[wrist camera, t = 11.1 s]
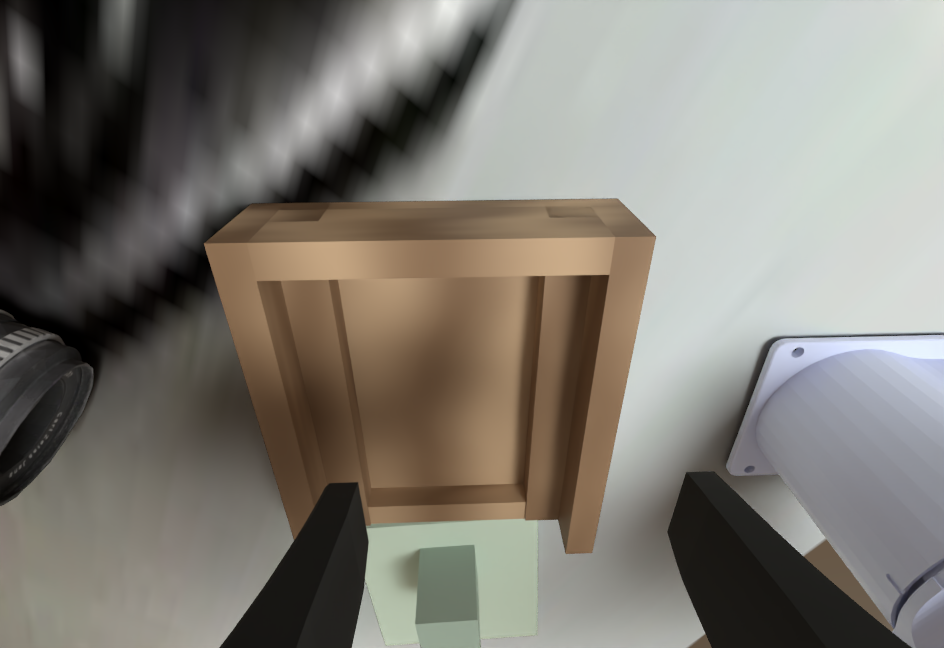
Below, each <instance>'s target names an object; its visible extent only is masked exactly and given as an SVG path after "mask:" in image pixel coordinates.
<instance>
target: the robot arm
mask: <svg viewBox="0 0 944 648" xmlns="http://www.w3.org/2000/svg"><path fill="white" fill-rule="evenodd" d="M796 348H797V350H795V351H794V352H793V350H794V349H796ZM726 468H727V470H728V471H729V473H730V474H731V475H734V476H750V475H779V476H780V477H781V478H782V480H783V481H784V482H785V484H786V485H787V486H788V488H789V489H790V490H791V492H792V493H793V494H794V496H795V497H796V498H797V500H798V501H799V502H800V504H801V505H802V506H803V508H804V509H805V510H806V512H807V513H808V515H809V516H810V517H811V519H812V520H813V521H814V523H815V524H816V525H817V527H818V528H819V529H820V531H821V532H822V533H823V535H824V536H825V537H826V539H827V540H828V541H829V543H830V544H831V545H832V547H833V548H834V549H835V551H836V552H837V553H838V555H839V556H840V558H841V559H842V560H843V561H844V563H845V564H846V566H847V567H848V568H849V570H850V571H851V572H852V574H853V575H854V576H855V578H856V579H857V580H858V582H859V583H860V584H861V586H862V587H863V588H864V590H865V591H866V592H867V593H868V595H869V596H870V598H871V599H872V601H873V602H874V603H875V605H876V606H877V607H878V609H879V610H880V611H881V612H882V614H883V615H884V617H885V618H886V619H887V621H888V622H889V623H890V625H891V626H892V627H893V629H894V630H893V631H892V632H891V631H890V630H888V629H887V628H886V627H885V626H884V625H882V624H881V623H880V622H879V621H877V620H876V619H875V618H874V617H873V616H871V615H870V614H869V613H868V612H867V611H865V610H864V609H863V608H862V607H861V606H859V605H858V604H857V603H856V602H854V600H852V599H851V598H850V597H849V596H848V595H846V594H845V593H844V592H843V591H842V590H841V589H839V588H838V587H837V586H836V585H835V584H834V583H832V582H831V581H830V580H829V579H828V578H827V577H826V576H824V575H823V574H822V573H821V572H820V571H819V570H817V568H815V567H814V566H813V565H812V564H811V563H810V562H808V560H807V559H805V558H804V557H803V556H802V555H801V554H800V553H799V552H798V551H797V550H796V549H795V548H793V547H792V546H791V545H790V544H789V543H788V542H787V541H786V540H785V539H784V538H783V537H782V536H781V535H780V534H778V533H777V532H776V531H775V530H774V529H773V528H772V527H771V526H770V525H769V524H768V523H767V522H766V521H765V520H764V519H763V518H762V517H761V516H760V515H759V514H757V513H756V512H755V511H754V510H753V509H752V508H751V507H750V506H749V505H748V504H747V503H746V502H745V501H744V500H743V499H742V498H741V497H740V496H739V495H738V494H737V493H736V492H735V491H734V490H733V489H732V488H731V487H730V486H729V485H727V484H726V483H725V482H724V481H723V480H722V479H721V478H720V477H719V476H718V475H717V474H716V473H715V472H686V475H685V478H684V482H683V485H682V488H681V491H680V494H679V497H678V500H677V503H676V507H675V510H674V513H673V516H672V519H671V522H670V525H669V528H668V536H669V539H670V542H671V546H672V549H673V552H674V556H675V559H676V562H677V565H678V568H679V571H680V574H681V577H682V580H683V583H684V585H685V587H686V590H687V592H688V594H689V597H690V599H691V601H692V604H693V606H694V608H695V610H696V613H697V615H698V617H699V620H700V622H701V624H702V626H703V629H704V631H705V633H706V635H707V638H708V640H709V642H710V644H711V647H712V648H944V335H920V336H875V337H829V338H785V339H780V340H778V341H776V342H775V343H774V344H773V345H772V346H771V348H770V350H769V352H768V355H767V358H766V360H765V363H764V366H763V368H762V371H761V374H760V376H759V379H758V382H757V384H756V387H755V390H754V392H753V395H752V398H751V400H750V403H749V406H748V408H747V411H746V414H745V416H744V419H743V422H742V424H741V427H740V430H739V432H738V435H737V438H736V440H735V443H734V446H733V448H732V451H731V453H730V456H729V459H728V461H727V464H726ZM368 544H369V540H368V535H367V529H366V524H365V518H364V512H363V507H362V501H361V496H360V490H359V485H358V482H348V483H329V484H328V485H327V486H326V487H325V488H324V490H323V492H322V494H321V496H320V498H319V500H318V501H317V503H316V505H315V507H314V508H313V510H312V512H311V514H310V515H309V517H308V519H307V520H306V522H305V524H304V526H303V527H302V529H301V530H300V532H299V534H298V535H297V537H296V539H295V540H294V542H293V543H292V545H291V547H290V548H289V550H288V551H287V553H286V554H285V556H284V557H283V559H282V560H281V562H280V563H279V565H278V567H277V568H276V570H275V571H274V573H273V574H272V576H271V577H270V579H269V580H268V582H267V583H266V585H265V586H264V588H263V589H262V590H261V592H260V593H259V595H258V596H257V597H256V599H255V600H254V602H253V603H252V604H251V606H250V607H249V608H248V610H247V611H246V613H245V614H244V615H243V617H242V618H241V620H240V621H239V622H238V624H237V625H236V627H235V628H234V629H233V631H232V632H231V633H230V635H229V636H228V637H227V639H226V640H225V641H224V642H223V644H222V645H221V646H220V648H352V643H353V638H354V634H355V629H356V624H357V619H358V615H359V610H360V605H361V600H362V595H363V590H364V581H365V573H366V564H367V554H368Z"/></svg>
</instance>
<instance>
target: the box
mask: <svg viewBox="0 0 944 648" xmlns="http://www.w3.org/2000/svg"><path fill="white" fill-rule="evenodd" d="M655 240H656V236H655V235H654V234H653V233H652V232H651V231H650V230H649V229H648V228H647V227H646V226H645V225H644V224H643V223H642V222H641V221H640V220H639V219H638V218H637V217H636V216H635V215H634V214H633V213H632V212H631V211H630V210H629V209H628V208H627V207H626V206H625V205H624V204H623V203H622V202H621V201H620V200H619V199H562V200H487V201H413V202H338V203H263V204H250V205H249V206H248V207H247V208H246V209H245V210H243V211H242V212H241V213H240V214H239V215H237V216H236V217H235V218H234V219H233V220H231V221H230V222H229V223H228V224H227V225H225V226H224V227H223V228H222V229H221V230H219V231H218V232H217V233H216V234H215V235H214V236H212V237H211V238H210V239H209V240H208V241H206V242H205V243H204V246H205V249H206V252H207V256H208V259H209V262H210V265H211V269H212V272H213V275H214V279H215V282H216V285H217V288H218V292H219V295H220V298H221V301H222V305H223V308H224V311H225V315H226V318H227V321H228V324H229V328H230V331H231V334H232V338H233V341H234V344H235V347H236V351H237V354H238V357H239V361H240V364H241V367H242V370H243V374H244V377H245V380H246V384H247V387H248V390H249V393H250V397H251V400H252V403H253V407H254V410H255V413H256V416H257V420H258V423H259V426H260V430H261V433H262V436H263V439H264V443H265V446H266V449H267V452H268V456H269V459H270V462H271V466H272V469H273V472H274V475H275V479H276V482H277V485H278V489H279V492H280V495H281V498H282V502H283V505H284V508H285V512H286V515H287V518H288V521H289V525H290V528H291V531H292V535H293V538H294V540H295V539H296V537H297V535H298V534H299V532H300V530H301V529H302V527H303V526H304V524H305V522H306V520H307V519H308V517H309V515H310V514H311V512H312V510H313V508H314V507H315V505H316V503H317V501H318V500H319V498H320V496H321V494H322V492H323V490H324V488H325V487H326V486H327V485H328V484H329V483H348V482H358V485H359V490H360V496H361V501H362V507H363V512H364V518H365V524H366V526H371V524H379V523H410V522H441V521H471V520H502V519H525V521H527V520H557V519H558V521H559V525H560V530H561V535H562V539H563V544H564V548H565V553H566V554H575V553H592V551H593V546H594V541H595V536H596V531H597V526H598V522H599V517H600V512H601V507H602V502H603V497H604V492H605V487H606V482H607V477H608V472H609V467H610V462H611V457H612V452H613V447H614V442H615V437H616V433H617V428H618V423H619V418H620V413H621V408H622V403H623V398H624V393H625V388H626V383H627V378H628V373H629V368H630V363H631V358H632V353H633V348H634V343H635V339H636V334H637V329H638V324H639V319H640V314H641V309H642V304H643V299H644V294H645V289H646V284H647V279H648V274H649V269H650V264H651V259H652V254H653V250H654V245H655Z"/></svg>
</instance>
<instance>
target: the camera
mask: <svg viewBox="0 0 944 648" xmlns="http://www.w3.org/2000/svg"><path fill="white" fill-rule="evenodd" d="M93 380H94V371H93V368H92V367H91V366H90V365H89V364H88V363H85V362H82V361H81V355H80V353H79V351H78V350H77V349H75V348H73V347H69V346H66V345H65V344H64V342H63V340H62V339H61V337H60V336H58V335H56V334H54V333H51V332H48V331H45V330H42V329H38V328H34V327H31V328H30V327H28V326H26V325H24V324H22V323H20V322H19V321H17V320H16V319H14V317H13V316H12V315H11V314H9V313H8V312H6V311H4V310H1V309H0V506H2V505H4V504H6V503H7V502H9V501H11V500H12V499H14V498H16V497H17V496H18V495H19V494H20V493H21V492H22V491H23V489H24V488H26V487H27V486H28V485H29V484H30V483H31V482H32V481H33V480H34V479H35V478H36V477H37V476H38V475H39V473H40V472H41V471H42V470H43V469H44V468H45V467H46V466H47V465H48V464H49V463H50V461H51V460H52V458H53V457H54V456H55V454H56V453H57V451H58V450H59V449H60V447H61V446H62V444H63V443H64V441H65V440H66V438H67V436H68V435H69V433H70V431H71V430H72V428H73V427H74V425H75V423H76V422H77V420H78V419H79V417H80V416H81V414H82V412H83V410H84V407H85V405H86V402H87V400H88V397H89V395H90V392H91V389H92V387H93Z"/></svg>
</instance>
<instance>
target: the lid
mask: <svg viewBox="0 0 944 648" xmlns="http://www.w3.org/2000/svg"><path fill="white" fill-rule="evenodd" d="M366 529H367V535H368V540H369V544H368V554H367V564H366V573H365V581H366V584H367V587H368V590H369V593H370V597H371V600H372V603H373V606H374V610H375V613H376V616H377V619H378V622H379V626H380V629H381V632H382V635H383V639H384V642H385V645H386V646H388V645H403V644H417V643H420V647H421V648H481V642H480V639H491V638H505V637H520V636H535V635H537V607H538V520H527V521H525V519H502V520H471V521H441V522H410V523H379V524H371V526H366Z"/></svg>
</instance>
